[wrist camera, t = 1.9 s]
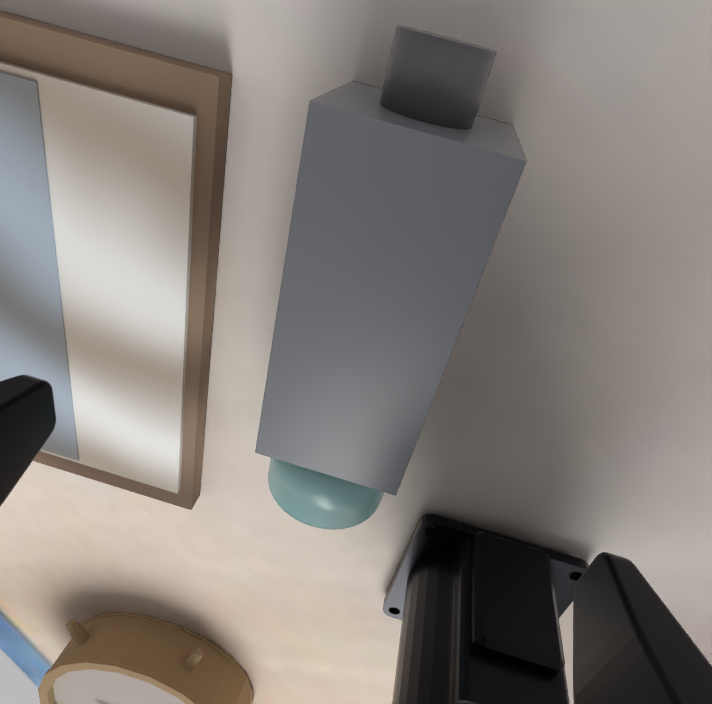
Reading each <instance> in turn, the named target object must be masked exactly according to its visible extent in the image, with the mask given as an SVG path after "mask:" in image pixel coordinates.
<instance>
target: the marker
mask: <svg viewBox="0 0 712 704" xmlns="http://www.w3.org/2000/svg"><path fill="white" fill-rule="evenodd" d="M495 55H496V51H493V50H490V49H487V48H484V47H481V46H477V45H474V44H471V43H467V42H463V41H460V40H456V39H453V38H449V37H445V36H441V35H437V34H434V33H430V32H426V31H422V30H418V29H413V28H409V27H404V26H399V25H397V28H396V32H395V37H394V41H393V46H392V50H391V54H390V59H389V63H388V68H387V72H386V77H385V81H384V86H383V89H380V88H376V87H373V86H369V85H365V84H362V83H358V82H354V81H352V82H350V83H347V84H345V85H343V86H341V87H339V88H337V89H334V90H332V91H330V92H328V93H326V94H324V95H322V96H319V97H317V98H315V99H313V100H311V101H310V103H309V110H308V116H307V122H306V129H305V135H304V142H303V148H302V155H301V161H300V167H299V174H298V180H297V187H296V193H295V200H294V206H293V212H292V219H291V225H290V232H289V238H288V245H287V251H286V257H285V264H284V270H283V277H282V283H281V290H280V296H279V303H278V309H277V315H276V322H275V328H274V335H273V341H272V348H271V354H270V360H269V367H268V373H267V380H266V386H265V393H264V399H263V405H262V412H261V418H260V425H259V431H258V438H257V444H256V450H255V453H258V454H262V455H265V456H268V457H271V462H270V467H269V473H268V482H269V487H270V490H271V493H272V495H273V497H274V499H275V500H276V502H277V503H278V505H279V506H280V507H281V508H282V509H283V510H284V511H285V512H286V513H288V514H289V515H290V516H292V517H293V518H295V519H296V520H298V521H300V522H302V523H305V524H307V525H310V526H313V527H317V528H323V529H344V528H348V527H352V526H355V525H358V524H360V523H362V522H363V521H365V520H366V519H368V518H369V517H370V516H371V515H372V514H373V513H374V512H375V511H376V509H377V508H378V506H379V504H380V501H381V499H382V496H383V493H384V492H386V493H389V494H392V495H395V496H396V493H397V491H398V488H399V486H400V483H401V481H402V478H403V475H404V473H405V470H406V468H407V465H408V463H409V460H410V458H411V455H412V452H413V450H414V447H415V445H416V442H417V440H418V437H419V435H420V432H421V429H422V427H423V424H424V422H425V419H426V417H427V414H428V412H429V409H430V406H431V404H432V401H433V399H434V396H435V394H436V391H437V389H438V386H439V383H440V381H441V378H442V376H443V373H444V371H445V368H446V366H447V363H448V360H449V358H450V355H451V353H452V350H453V348H454V345H455V343H456V340H457V337H458V335H459V332H460V330H461V327H462V325H463V322H464V320H465V317H466V314H467V312H468V309H469V307H470V304H471V302H472V299H473V297H474V294H475V291H476V289H477V286H478V284H479V281H480V279H481V276H482V274H483V271H484V268H485V266H486V263H487V261H488V258H489V256H490V253H491V251H492V248H493V245H494V243H495V240H496V238H497V235H498V233H499V230H500V228H501V225H502V222H503V220H504V217H505V215H506V212H507V210H508V207H509V205H510V202H511V199H512V197H513V194H514V192H515V189H516V187H517V184H518V182H519V179H520V176H521V174H522V171H523V169H524V166H525V164H526V158H525V155H524V153H523V150H522V147H521V145H520V142H519V139H518V137H517V134H516V131H515V129H514V126H513V125H511V124H508V123H504V122H500V121H497V120H493V119H489V118H486V117H482V116H479V115H476V114H477V111H478V108H479V105H480V102H481V99H482V95H483V92H484V89H485V86H486V83H487V80H488V77H489V74H490V71H491V68H492V64H493V61H494V58H495Z"/></svg>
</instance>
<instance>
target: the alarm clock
mask: <svg viewBox="0 0 712 704" xmlns="http://www.w3.org/2000/svg"><path fill="white" fill-rule="evenodd" d="M67 627H68V629H69V631H70V633H71V635H72V637H73V638H72V639H71V641H70V642H69V643H68V645H67V646H66V648H65V649H64V650H63V652H62V653H61V655H60V656H59V657H58V659H57V660H56V662H55V663H54V664H53V666H52V667H51V668H50V669H49V670H48V671H47V672H46V674H45V675H44V678H43V680H42V682H41V684H40V686H39V689H38V691H39V697H40V703H41V704H252V702H253V697H254V694H253V691H252V688H251V685H250V682H249V679H248V676H247V674H246V673H245V672H244V671H243V669H242V668H241V667H240V665H239V664H238V663H237V662H236V661H235V660H234V658H233V657H232V656H230V655H229V654H227V653H226V652H225V651H223V650H222V649H220V648H219V647H218V646H216V645H215V644H213V643H212V642H211V641H209V640H208V639H206V638H204V637H202V636H199V635H197V634H195V633H193V632H191V631H189V630H187V629H185V628H183V627H181V626H179V625H176V624H173V623H169V622H166V621H163V620H159V619H156V618H153V617H149V616H144V615H136V614H127V613H111V614H103V615H96V616H94V617H92V618H90V619H89V620H87V621H85V622H83V623H82V624H81V625H80V624H79V623H77V622H76V621H75V620H72V621H70V622H69V623H68V624H67Z"/></svg>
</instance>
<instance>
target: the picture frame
mask: <svg viewBox="0 0 712 704" xmlns="http://www.w3.org/2000/svg"><path fill="white" fill-rule="evenodd" d="M231 83H232V74H229V73H226V72H222V71H219V70H215V69H211V68H208V67H204V66H200V65H197V64H193V63H189V62H186V61H182V60H179V59H175V58H171V57H168V56H164V55H160V54H157V53H153V52H149V51H146V50H142V49H139V48H135V47H131V46H128V45H124V44H120V43H117V42H113V41H110V40H106V39H102V38H99V37H95V36H91V35H88V34H84V33H80V32H77V31H73V30H70V29H66V28H62V27H59V26H55V25H51V24H48V23H44V22H40V21H37V20H33V19H30V18H26V17H22V16H19V15H15V14H11V13H8V12H4V11H1V10H0V381H3V380H6V379H9V378H12V377H15V376H19V375H30V376H33V377H36V378H39V379H43V380H46V381H48V382H49V383H50V385H51V386H52V389H53V397H54V404H55V412H56V424H55V428H54V430H53V432H52V434H51V435H50V437H49V438H48V440H47V441H46V442H45V444H44V445H43V447H42V448H41V450H40V451H39V452H38V454H37V455H36V457H35V458H34V460H33V461H35V462H39V463H42V464H45V465H48V466H51V467H55V468H58V469H61V470H64V471H68V472H71V473H74V474H77V475H80V476H84V477H87V478H90V479H93V480H96V481H100V482H103V483H106V484H109V485H112V486H116V487H119V488H122V489H125V490H129V491H132V492H135V493H138V494H141V495H145V496H148V497H151V498H154V499H157V500H161V501H164V502H167V503H170V504H173V505H177V506H180V507H183V508H186V509H190V510H191V509H192V508H193V506H194V504H195V503H196V501H197V499H198V497H199V496H200V486H201V473H202V460H203V447H204V434H205V421H206V408H207V395H208V382H209V369H210V356H211V343H212V330H213V317H214V304H215V291H216V278H217V265H218V252H219V239H220V226H221V213H222V200H223V187H224V174H225V161H226V148H227V135H228V122H229V109H230V96H231Z"/></svg>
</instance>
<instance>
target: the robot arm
mask: <svg viewBox="0 0 712 704" xmlns="http://www.w3.org/2000/svg"><path fill="white" fill-rule="evenodd" d="M55 424H56V412H55V404H54V397H53V389H52V386H51V385H50V383H49V382H48V381H46V380H43V379H39V378H36V377H33V376H30V375H19V376H15V377H12V378H9V379H6V380H3V381H0V506H1V505H2V503H3V502H4V501H5V499H6V498H7V497H8V495H9V494H10V492H11V491H12V489H13V488H14V487H15V485H16V484H17V482H18V481H19V479H20V478H21V477H22V475H23V474H24V472H25V471H26V470H27V468H28V467H29V465H30V464H31V462H32V461H33V460H34V458H35V457H36V455H37V454H38V452H39V451H40V450H41V448H42V447H43V445H44V444H45V442H46V441H47V440H48V438H49V437H50V435H51V434H52V432H53V430H54V428H55ZM431 527H434V528H431ZM572 601H573V695H574V704H712V666H711V664H710V663H709V662H708V661H707V659H706V658H705V657H704V655H703V654H702V653H701V651H700V650H699V649H698V647H697V646H696V645H695V643H694V642H693V641H692V640H691V638H690V637H689V636H688V634H687V633H686V632H685V630H684V629H683V628H682V626H681V625H680V624H679V623H678V621H677V620H676V619H675V617H674V616H673V615H672V613H671V612H670V611H669V609H668V608H667V607H666V605H665V604H664V603H663V602H662V600H661V599H660V598H659V596H658V595H657V594H656V592H655V591H654V590H653V588H652V587H651V586H650V585H649V583H648V582H647V581H646V579H645V578H644V577H643V575H642V574H641V573H640V571H639V570H638V569H637V567H636V566H635V565H634V564H633V563H632V562H631V561H630V560H628V559H626V558H623V557H620V556H617V555H614V554H610V553H607V552H603V553H600V554H598V555H597V556H596V558H595V559H594V560H593V562H592V563H591V564H590V565H588V563H587V562H586V561H584V560H582V559H579V558H576V557H573V556H569V555H566V554H563V553H560V552H556V551H553V550H550V549H547V548H543V547H540V546H537V545H534V544H530V543H527V542H524V541H520V540H517V539H514V538H511V537H507V536H504V535H501V534H498V533H494V532H491V531H488V530H484V529H481V528H478V527H475V526H471V525H468V524H465V523H462V522H458V521H455V520H452V519H448V518H445V517H442V516H439V515H434V514H427V515H424V516H422V518H421V519H420V520H419V523H418V525H417V527H416V529H415V532H414V534H413V536H412V538H411V541H410V543H409V545H408V547H407V550H406V552H405V554H404V556H403V559H402V561H401V563H400V565H399V567H398V570H397V572H396V574H395V576H394V579H393V581H392V583H391V585H390V588H389V590H388V592H387V594H386V597H385V599H384V605H383V611H384V613H385V614H387V615H388V616H390V617H393V618H396V619H399V620H402V627H401V635H400V644H399V652H398V660H397V668H396V677H395V685H394V693H393V701H392V704H569V697H568V689H567V682H566V675H565V668H564V665H565V660H564V653H563V646H562V639H561V632H560V625H559V617H560V616H561V615H562V614H563V612H564V611H565V610H566V609H567V607H568V606H569V605H570V604H571V603H572Z"/></svg>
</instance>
